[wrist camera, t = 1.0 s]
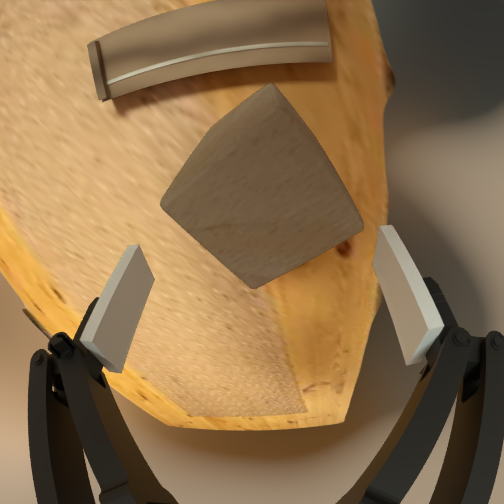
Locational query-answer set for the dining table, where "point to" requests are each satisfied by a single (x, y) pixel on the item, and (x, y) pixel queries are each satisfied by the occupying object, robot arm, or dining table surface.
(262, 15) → the curved panel
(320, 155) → the wooden block
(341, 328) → the dining table surface
